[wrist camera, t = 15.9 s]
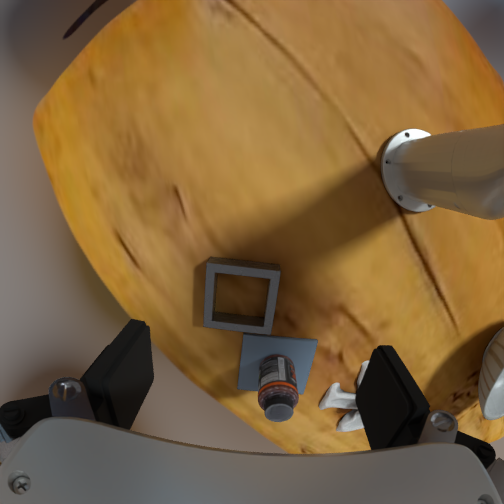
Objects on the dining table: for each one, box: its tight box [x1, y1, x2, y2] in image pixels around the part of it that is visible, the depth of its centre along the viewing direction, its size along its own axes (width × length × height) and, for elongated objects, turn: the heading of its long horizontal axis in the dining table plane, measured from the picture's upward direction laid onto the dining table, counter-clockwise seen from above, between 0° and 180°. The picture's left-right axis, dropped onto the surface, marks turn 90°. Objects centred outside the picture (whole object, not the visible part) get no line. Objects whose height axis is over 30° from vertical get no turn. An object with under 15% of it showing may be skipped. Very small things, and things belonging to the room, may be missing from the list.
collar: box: [203, 257, 281, 335], centre depth 41 cm, size 10×10×3 cm
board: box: [237, 333, 318, 394], centre depth 46 cm, size 12×12×1 cm
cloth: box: [319, 361, 369, 432], centre depth 45 cm, size 22×18×6 cm
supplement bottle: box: [258, 354, 299, 422], centre depth 40 cm, size 6×6×11 cm
